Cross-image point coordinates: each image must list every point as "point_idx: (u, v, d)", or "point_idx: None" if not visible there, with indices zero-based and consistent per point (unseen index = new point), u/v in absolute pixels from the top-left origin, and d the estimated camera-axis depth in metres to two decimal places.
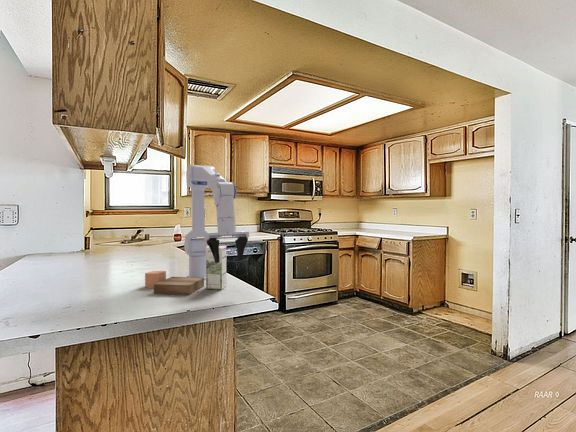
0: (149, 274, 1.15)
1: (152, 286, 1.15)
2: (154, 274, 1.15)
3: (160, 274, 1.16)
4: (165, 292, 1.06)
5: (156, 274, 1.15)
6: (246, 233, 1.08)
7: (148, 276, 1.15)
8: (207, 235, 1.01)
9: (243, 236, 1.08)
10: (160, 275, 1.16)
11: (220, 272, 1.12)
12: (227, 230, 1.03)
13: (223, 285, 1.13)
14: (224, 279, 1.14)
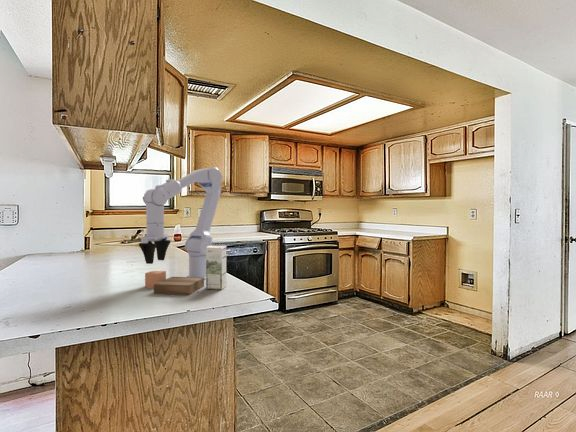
0: (149, 274, 1.15)
1: (152, 286, 1.15)
2: (154, 274, 1.15)
3: (160, 274, 1.16)
4: (165, 292, 1.06)
5: (156, 274, 1.15)
6: None
7: (148, 276, 1.15)
8: None
9: None
10: (160, 275, 1.16)
11: (220, 272, 1.12)
12: None
13: (223, 285, 1.13)
14: (224, 279, 1.14)
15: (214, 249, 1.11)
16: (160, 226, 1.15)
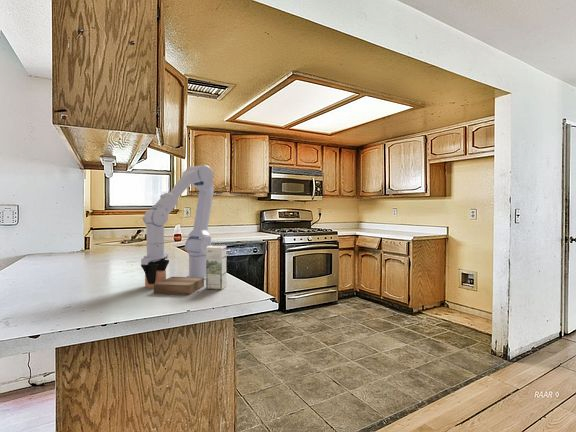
0: None
1: (152, 286, 1.15)
2: None
3: (160, 273, 1.16)
4: (165, 292, 1.06)
5: (156, 274, 1.15)
6: None
7: None
8: None
9: None
10: (160, 275, 1.16)
11: (220, 272, 1.12)
12: None
13: (223, 285, 1.13)
14: (224, 279, 1.14)
15: (214, 249, 1.11)
16: (160, 246, 1.16)
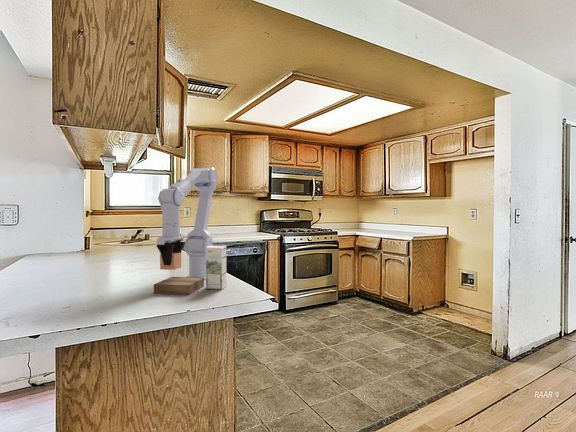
0: None
1: (167, 268, 1.11)
2: None
3: (175, 255, 1.12)
4: (165, 292, 1.06)
5: None
6: None
7: None
8: None
9: None
10: (175, 256, 1.12)
11: (220, 272, 1.12)
12: None
13: (223, 285, 1.13)
14: (224, 279, 1.14)
15: (214, 249, 1.11)
16: (176, 227, 1.12)
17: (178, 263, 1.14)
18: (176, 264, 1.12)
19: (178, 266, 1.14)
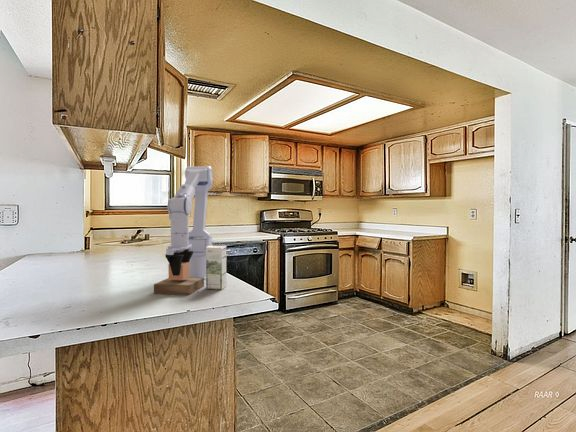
0: None
1: (176, 278, 1.09)
2: None
3: (184, 265, 1.10)
4: (165, 292, 1.06)
5: None
6: None
7: None
8: None
9: None
10: (184, 266, 1.10)
11: (220, 272, 1.12)
12: None
13: (223, 285, 1.13)
14: (224, 279, 1.14)
15: (214, 249, 1.11)
16: (185, 236, 1.10)
17: (187, 273, 1.12)
18: (185, 274, 1.11)
19: (187, 276, 1.12)
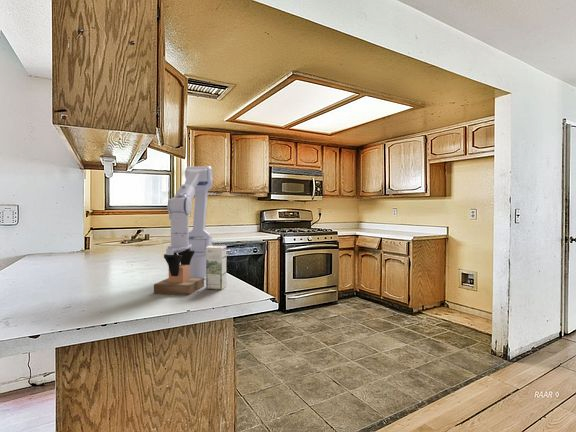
0: None
1: (176, 280, 1.09)
2: None
3: (184, 268, 1.10)
4: (165, 292, 1.06)
5: (180, 268, 1.09)
6: None
7: None
8: None
9: None
10: (184, 269, 1.10)
11: (220, 272, 1.12)
12: None
13: (223, 285, 1.13)
14: (224, 279, 1.14)
15: (214, 249, 1.11)
16: (185, 236, 1.10)
17: (187, 275, 1.12)
18: (185, 277, 1.11)
19: (187, 278, 1.12)
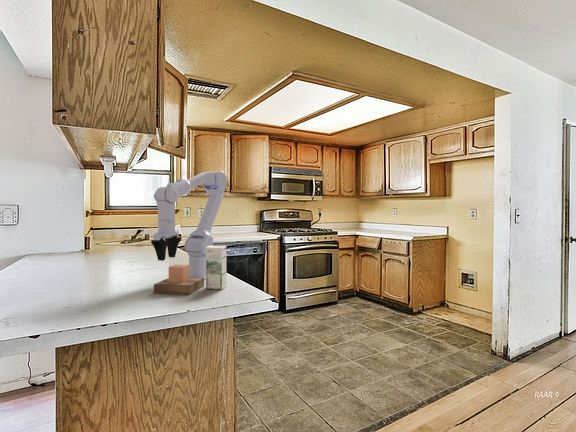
0: (173, 268, 1.09)
1: (176, 280, 1.09)
2: (178, 268, 1.09)
3: (184, 268, 1.10)
4: (165, 292, 1.06)
5: (180, 268, 1.09)
6: None
7: (172, 270, 1.09)
8: None
9: None
10: (184, 269, 1.10)
11: (220, 272, 1.12)
12: None
13: (223, 285, 1.13)
14: (224, 279, 1.14)
15: (214, 249, 1.11)
16: (171, 223, 1.17)
17: (187, 275, 1.12)
18: (185, 277, 1.11)
19: (187, 278, 1.12)
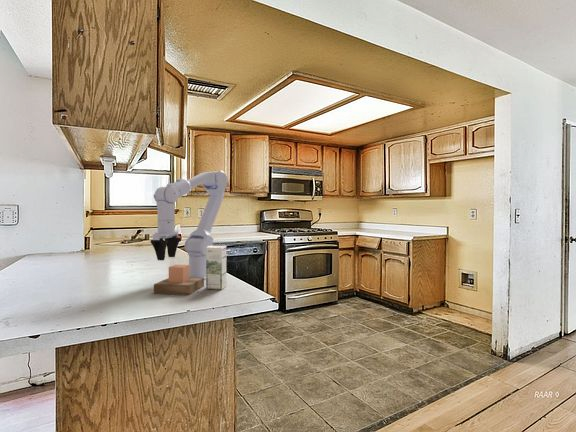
0: (173, 268, 1.09)
1: (176, 280, 1.09)
2: (178, 268, 1.09)
3: (184, 268, 1.10)
4: (165, 292, 1.06)
5: (180, 268, 1.09)
6: None
7: (172, 270, 1.09)
8: None
9: None
10: (184, 269, 1.10)
11: (220, 272, 1.12)
12: None
13: (223, 285, 1.13)
14: (224, 279, 1.14)
15: (214, 249, 1.11)
16: (171, 223, 1.17)
17: (187, 275, 1.12)
18: (185, 277, 1.11)
19: (187, 278, 1.12)
